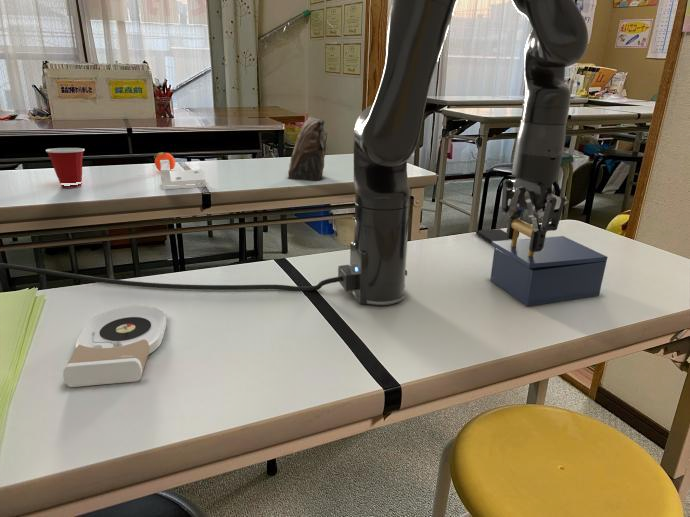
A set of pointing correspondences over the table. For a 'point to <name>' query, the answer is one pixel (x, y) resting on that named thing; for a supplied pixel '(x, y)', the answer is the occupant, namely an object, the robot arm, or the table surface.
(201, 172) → the bracket
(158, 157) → the tomato
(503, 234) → the smartphone
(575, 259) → the box lid
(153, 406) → the table surface
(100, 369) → the record player
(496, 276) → the dark blue box
